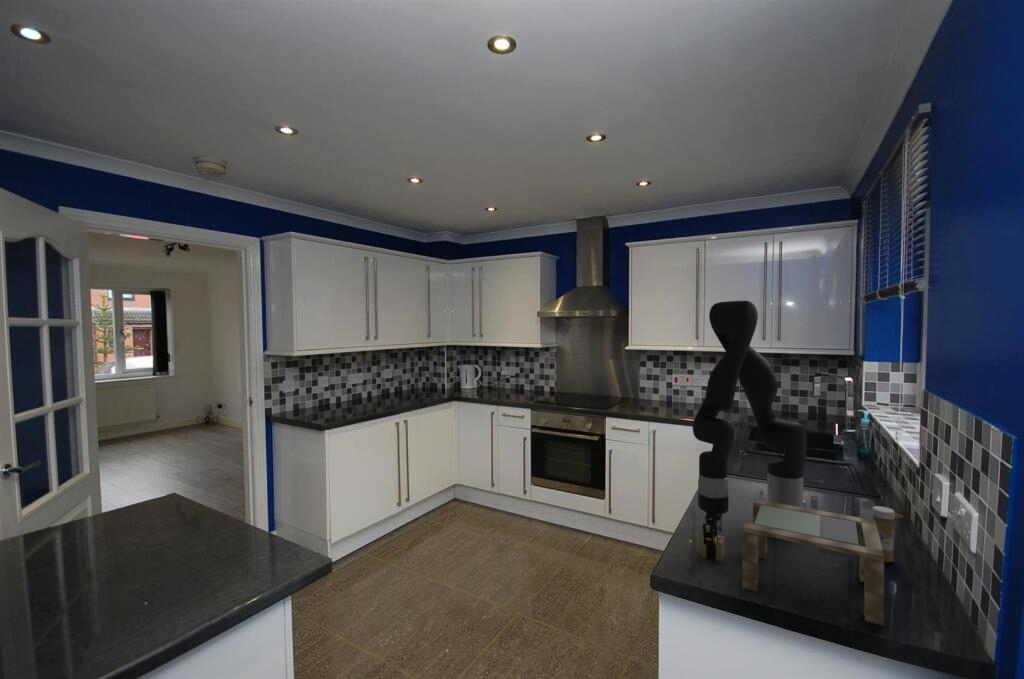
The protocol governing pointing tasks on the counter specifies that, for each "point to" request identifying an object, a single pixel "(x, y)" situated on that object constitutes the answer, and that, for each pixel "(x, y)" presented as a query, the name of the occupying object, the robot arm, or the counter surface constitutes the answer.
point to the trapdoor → (810, 526)
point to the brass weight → (719, 548)
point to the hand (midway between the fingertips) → (713, 553)
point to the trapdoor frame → (868, 548)
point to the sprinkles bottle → (885, 530)
